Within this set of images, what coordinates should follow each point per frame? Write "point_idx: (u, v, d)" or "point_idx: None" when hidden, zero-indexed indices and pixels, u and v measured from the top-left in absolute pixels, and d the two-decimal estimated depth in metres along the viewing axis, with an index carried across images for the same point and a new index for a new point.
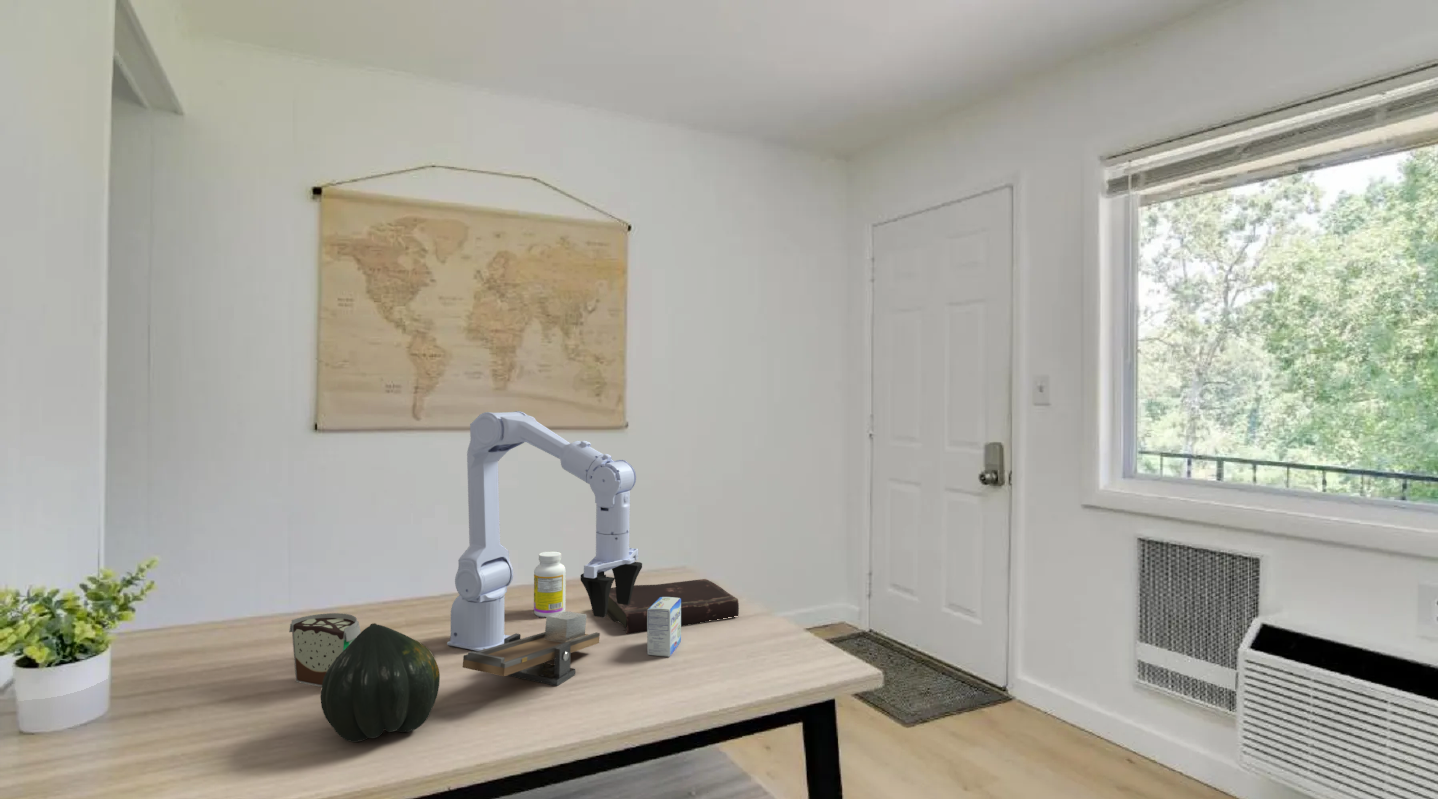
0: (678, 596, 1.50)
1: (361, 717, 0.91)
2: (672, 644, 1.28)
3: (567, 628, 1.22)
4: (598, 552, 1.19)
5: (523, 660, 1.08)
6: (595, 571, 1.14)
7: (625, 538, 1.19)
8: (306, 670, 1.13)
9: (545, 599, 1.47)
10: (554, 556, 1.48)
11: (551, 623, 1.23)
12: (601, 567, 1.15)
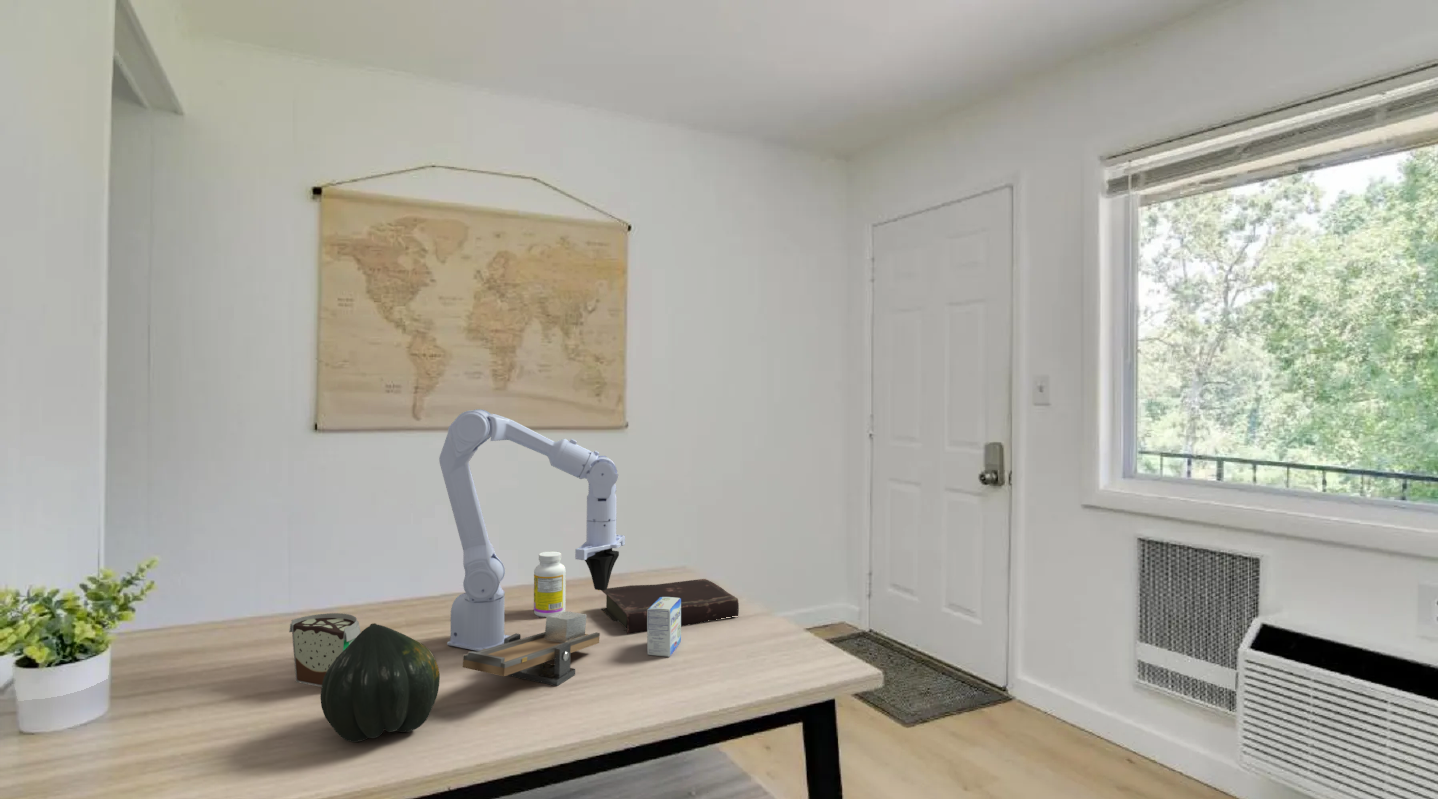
0: (678, 596, 1.50)
1: (361, 717, 0.91)
2: (672, 644, 1.28)
3: (567, 628, 1.22)
4: (588, 537, 1.34)
5: (523, 660, 1.08)
6: (585, 554, 1.29)
7: (612, 525, 1.34)
8: (306, 670, 1.13)
9: (545, 599, 1.47)
10: (554, 556, 1.48)
11: (551, 623, 1.23)
12: (591, 550, 1.30)
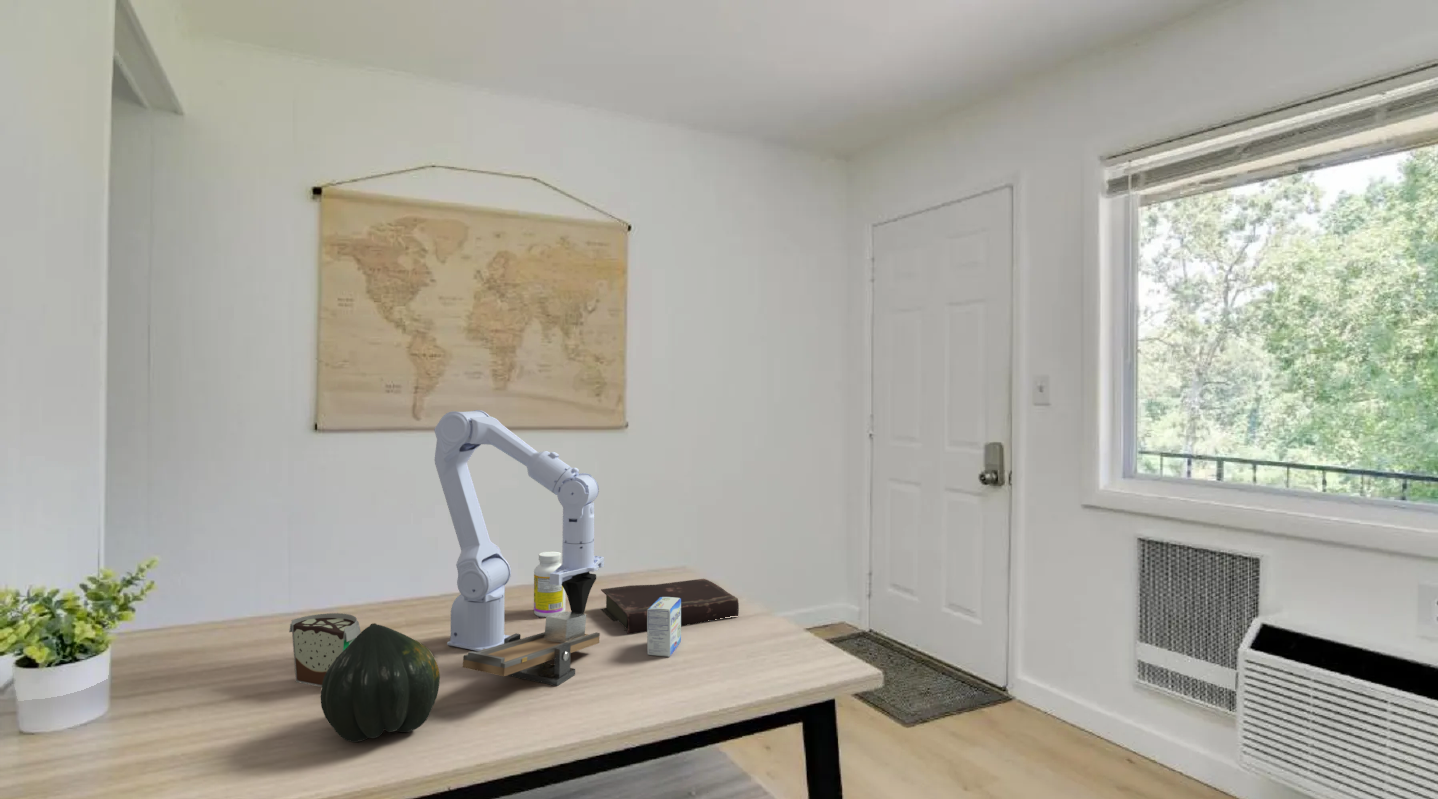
0: (678, 596, 1.50)
1: (361, 717, 0.91)
2: (672, 644, 1.28)
3: (567, 628, 1.22)
4: (564, 560, 1.27)
5: (523, 660, 1.08)
6: (560, 578, 1.22)
7: (589, 547, 1.27)
8: (306, 670, 1.13)
9: (545, 599, 1.47)
10: (554, 556, 1.48)
11: (551, 623, 1.23)
12: (566, 575, 1.23)
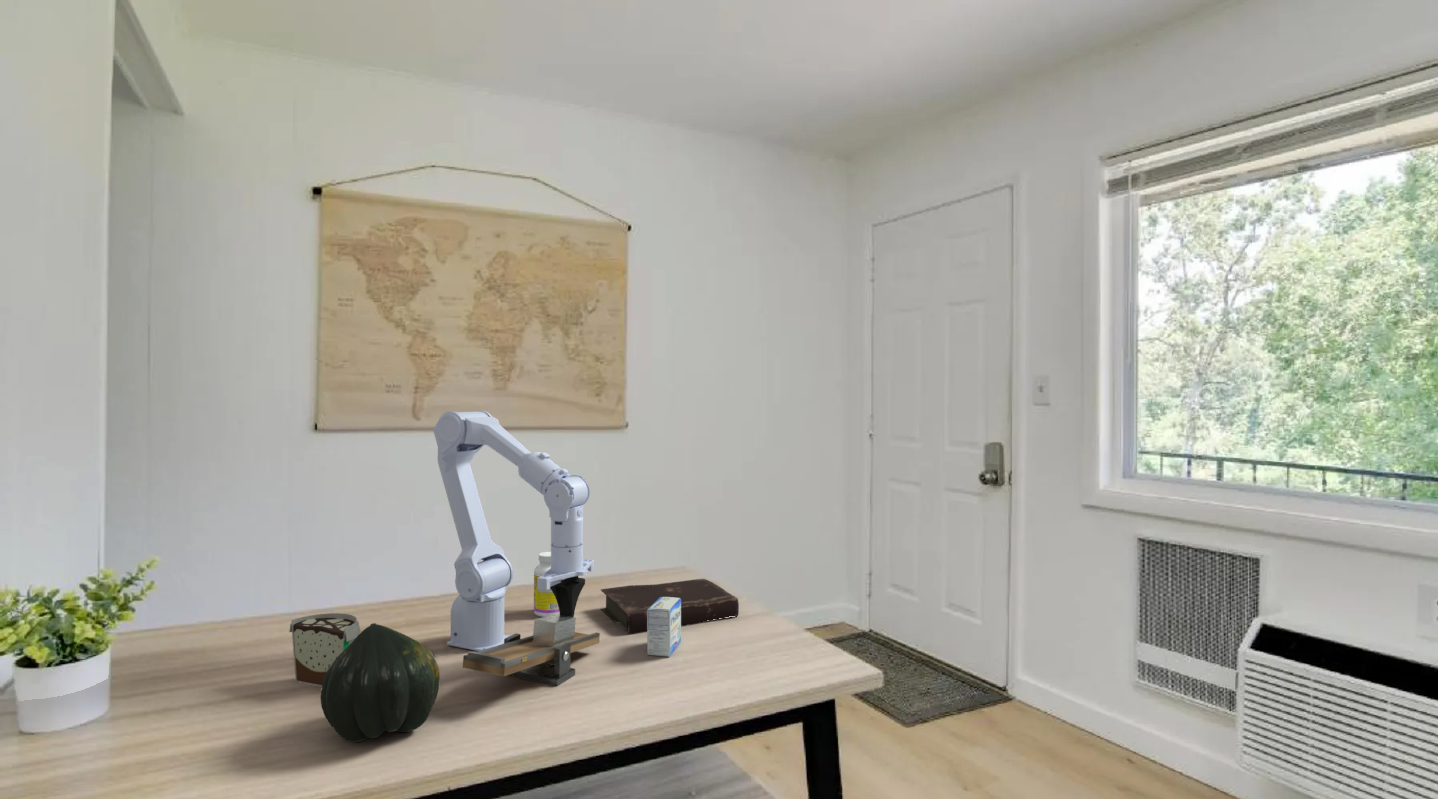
0: (678, 596, 1.50)
1: (361, 717, 0.91)
2: (672, 644, 1.28)
3: (556, 631, 1.19)
4: (552, 564, 1.24)
5: (523, 660, 1.08)
6: (548, 583, 1.19)
7: (578, 550, 1.24)
8: (306, 670, 1.13)
9: (545, 599, 1.47)
10: None
11: (539, 626, 1.20)
12: (554, 579, 1.20)
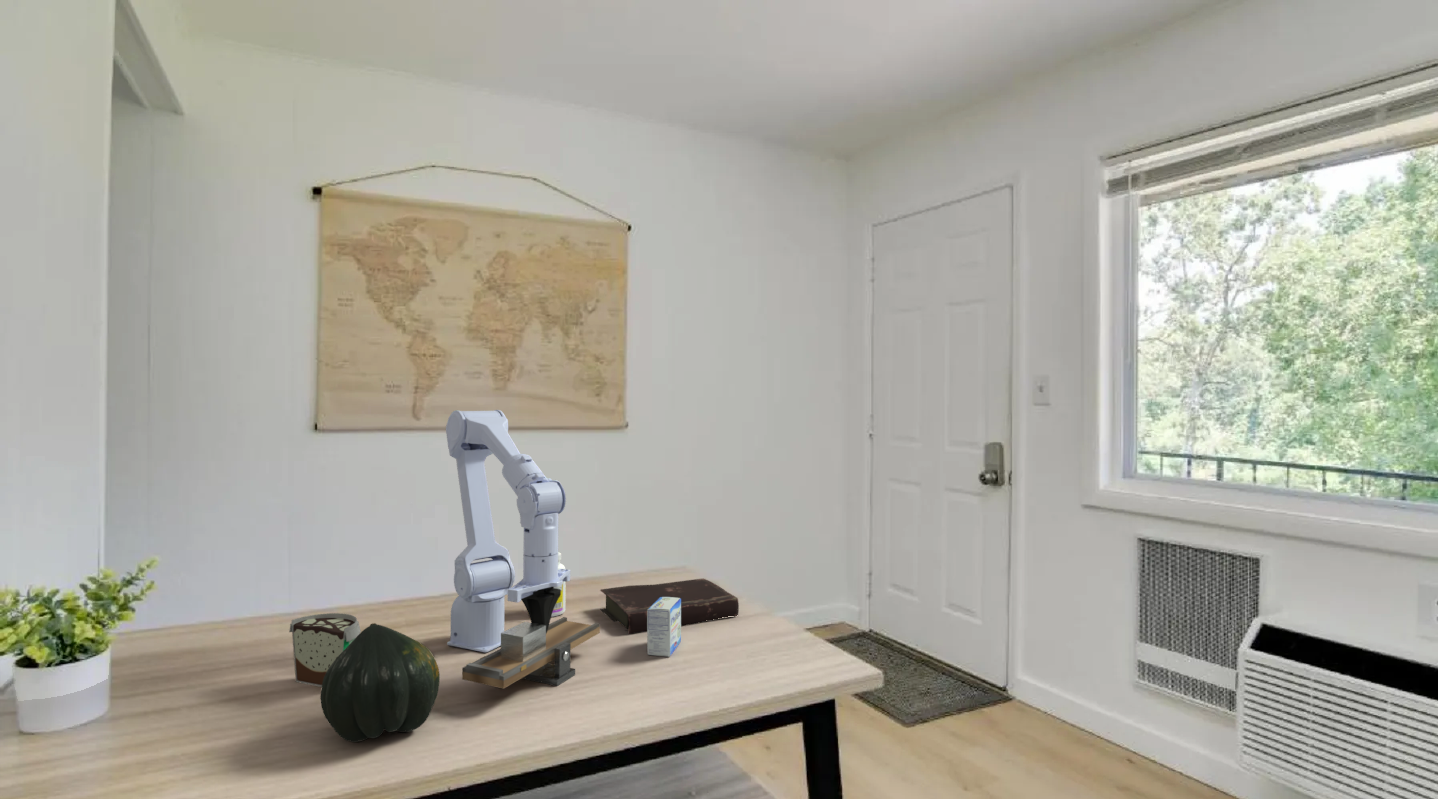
0: (678, 596, 1.50)
1: (361, 717, 0.91)
2: (672, 644, 1.28)
3: (524, 645, 1.12)
4: (524, 574, 1.17)
5: (522, 668, 1.08)
6: (519, 595, 1.12)
7: (552, 560, 1.17)
8: (306, 670, 1.13)
9: None
10: None
11: (506, 640, 1.13)
12: (526, 591, 1.13)
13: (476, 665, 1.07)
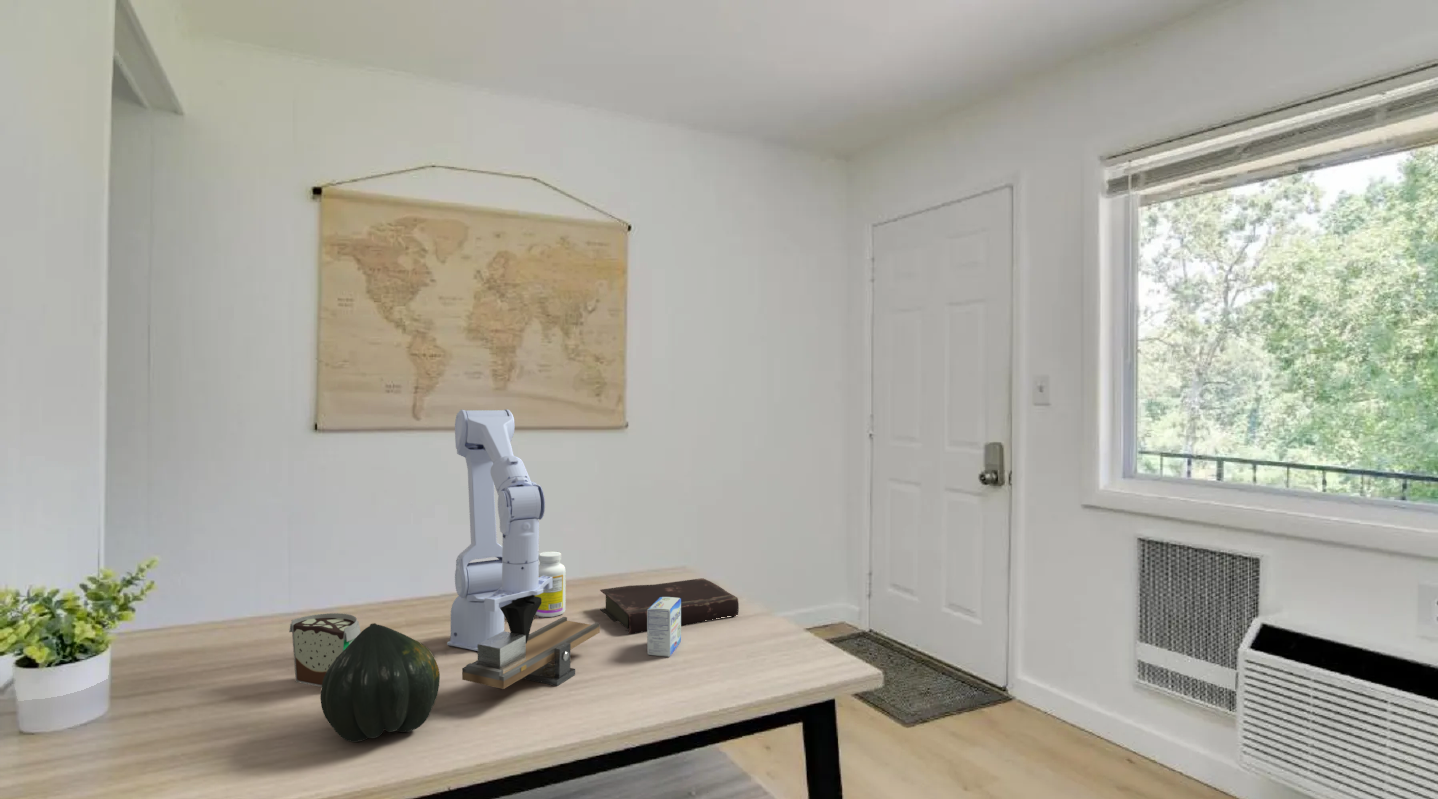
0: (678, 596, 1.50)
1: (361, 717, 0.91)
2: (672, 644, 1.28)
3: (502, 657, 1.07)
4: (503, 582, 1.12)
5: (522, 669, 1.08)
6: (496, 604, 1.07)
7: (532, 567, 1.12)
8: (306, 670, 1.13)
9: (545, 599, 1.47)
10: (554, 556, 1.48)
11: (483, 652, 1.08)
12: (504, 599, 1.08)
13: (476, 665, 1.07)
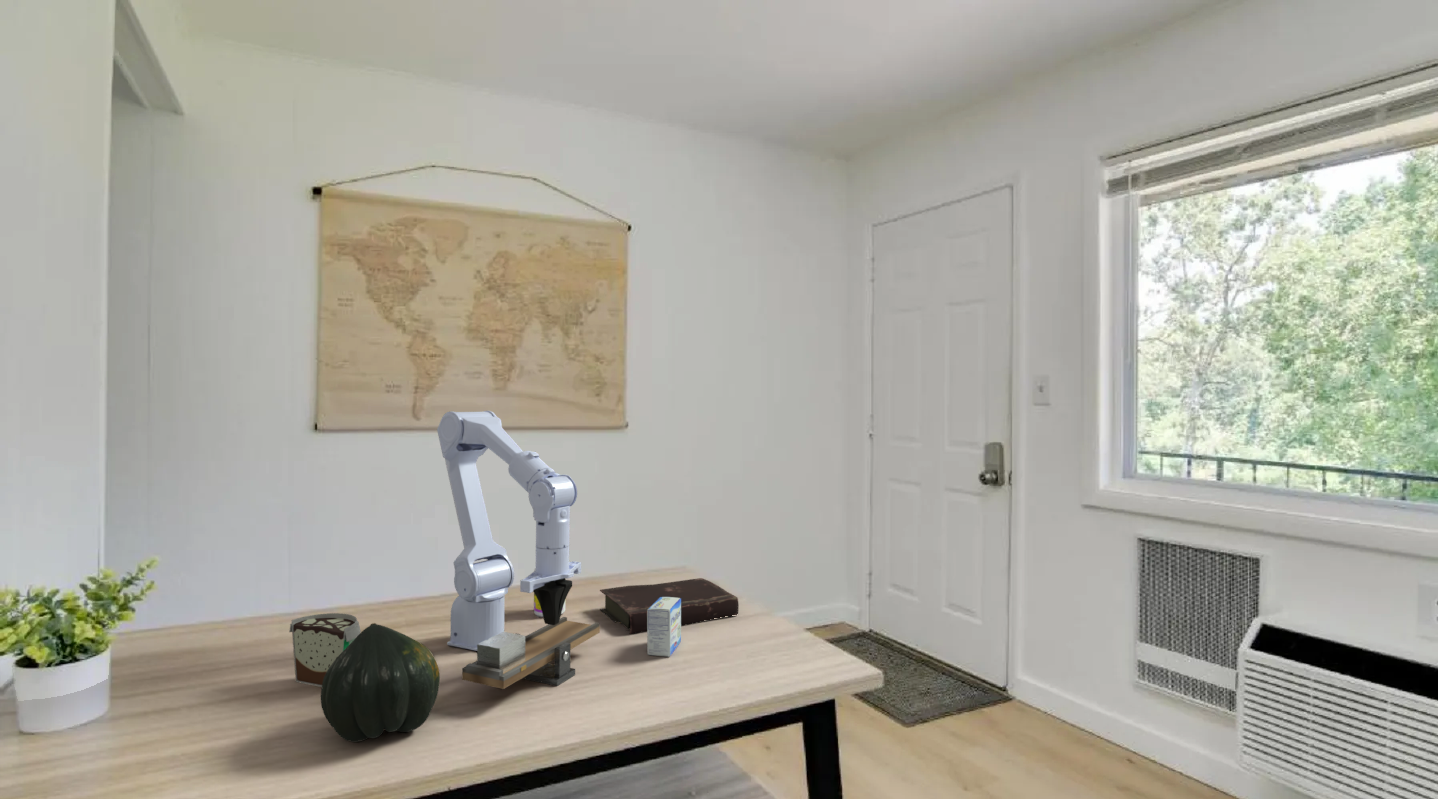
0: (678, 595, 1.50)
1: (361, 717, 0.91)
2: (672, 644, 1.28)
3: (501, 657, 1.07)
4: (537, 566, 1.20)
5: (522, 669, 1.08)
6: (531, 586, 1.15)
7: (564, 552, 1.20)
8: (306, 670, 1.13)
9: None
10: None
11: (483, 652, 1.08)
12: (538, 582, 1.17)
13: (476, 665, 1.07)
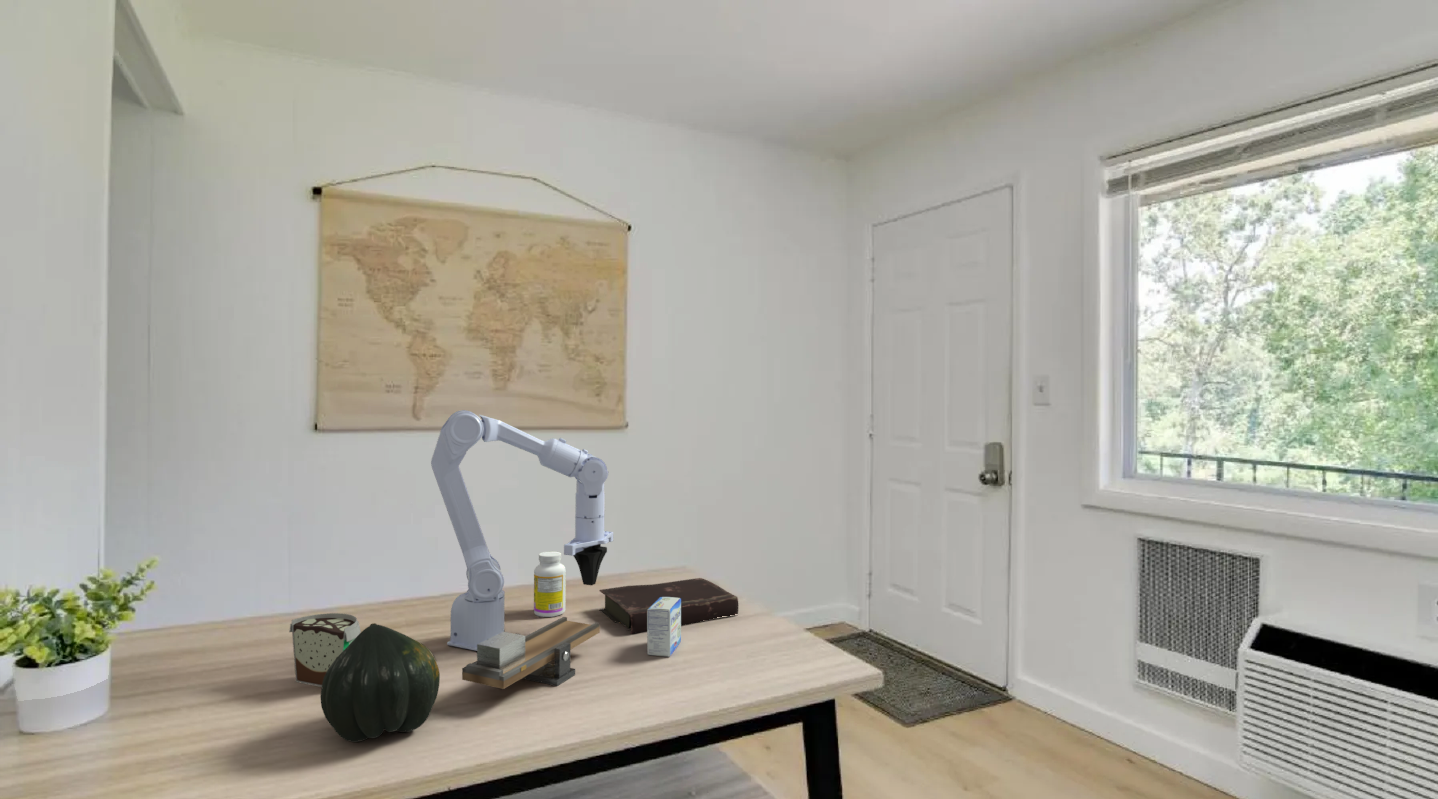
0: (678, 595, 1.51)
1: (361, 717, 0.91)
2: (672, 644, 1.28)
3: (501, 657, 1.07)
4: (576, 534, 1.37)
5: (522, 669, 1.08)
6: (573, 549, 1.33)
7: (600, 521, 1.38)
8: (306, 670, 1.13)
9: (545, 599, 1.47)
10: (554, 556, 1.48)
11: (483, 652, 1.08)
12: (579, 546, 1.34)
13: (476, 665, 1.07)
